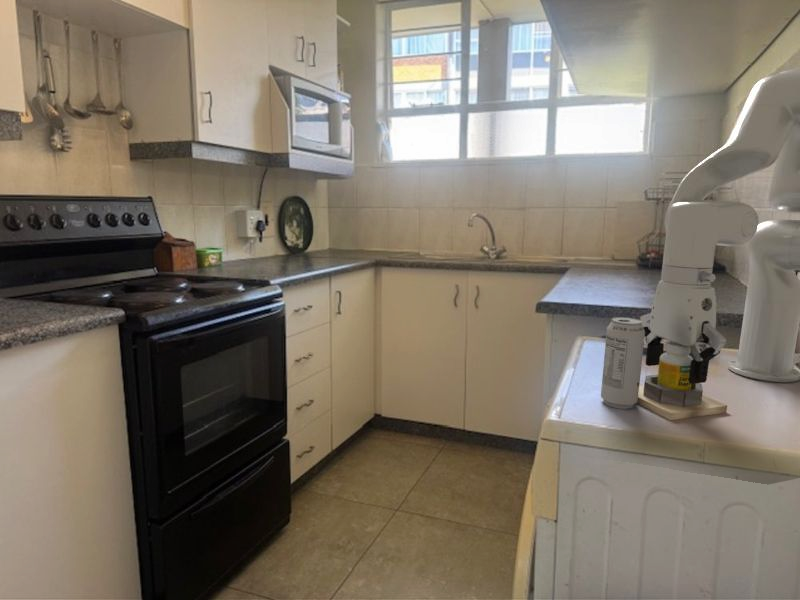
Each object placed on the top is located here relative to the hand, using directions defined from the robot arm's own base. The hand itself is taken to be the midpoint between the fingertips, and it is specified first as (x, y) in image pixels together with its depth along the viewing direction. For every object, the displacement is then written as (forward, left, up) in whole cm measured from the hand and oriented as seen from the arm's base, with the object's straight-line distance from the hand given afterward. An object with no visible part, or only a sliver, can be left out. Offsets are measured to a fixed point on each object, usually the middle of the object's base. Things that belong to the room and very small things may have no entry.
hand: (674, 373), depth 95 cm
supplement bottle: (0, 0, -4) cm, 5 cm away
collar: (0, 0, -6) cm, 6 cm away
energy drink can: (+9, -2, -6) cm, 11 cm away
